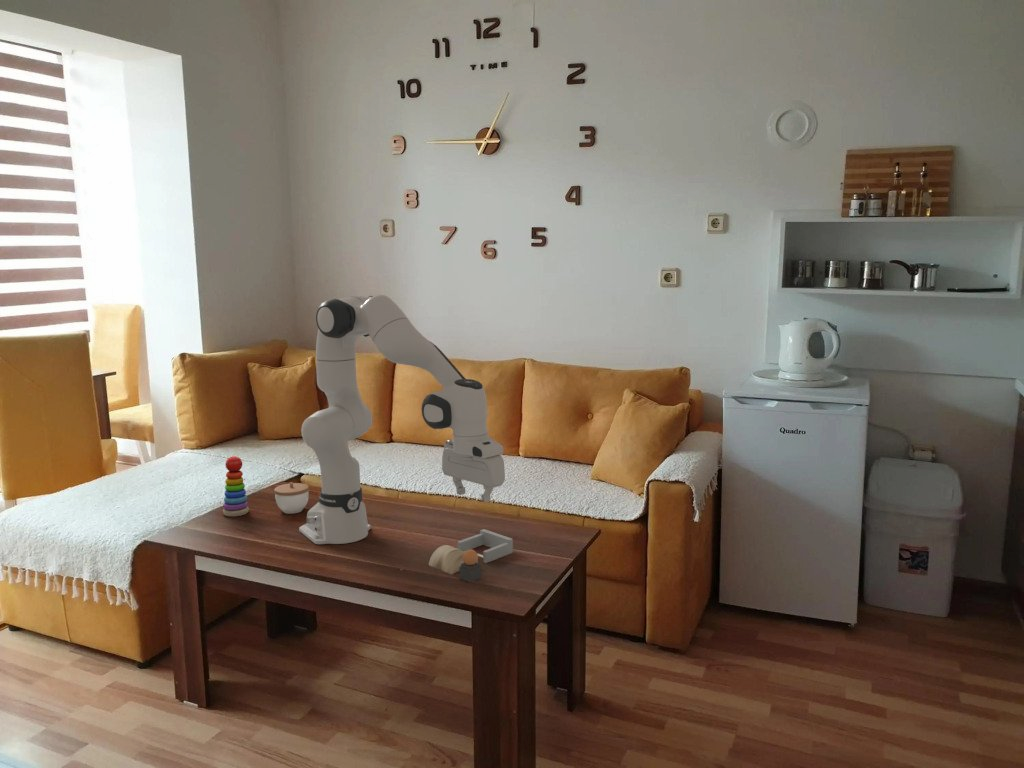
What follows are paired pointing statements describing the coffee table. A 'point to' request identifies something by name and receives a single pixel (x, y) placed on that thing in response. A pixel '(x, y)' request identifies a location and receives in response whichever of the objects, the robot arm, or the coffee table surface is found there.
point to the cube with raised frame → (470, 572)
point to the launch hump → (447, 559)
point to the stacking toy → (234, 489)
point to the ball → (470, 557)
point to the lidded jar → (292, 497)
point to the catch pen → (488, 544)
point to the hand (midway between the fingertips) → (473, 497)
